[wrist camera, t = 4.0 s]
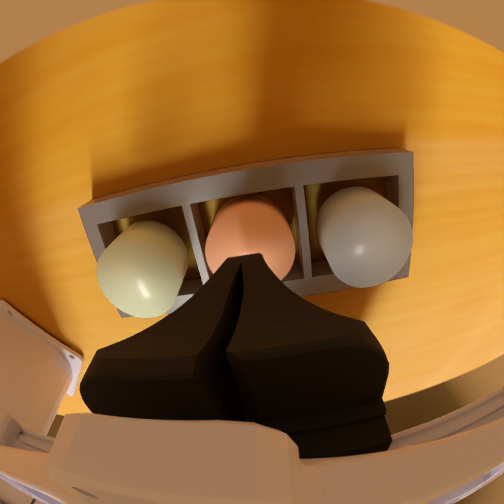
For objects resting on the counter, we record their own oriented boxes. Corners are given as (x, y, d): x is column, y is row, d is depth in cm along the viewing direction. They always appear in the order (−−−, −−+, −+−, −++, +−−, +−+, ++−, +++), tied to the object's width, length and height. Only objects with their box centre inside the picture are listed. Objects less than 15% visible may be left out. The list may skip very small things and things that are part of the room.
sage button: (131, 292, 16) (115, 320, 13) (107, 228, 14) (84, 249, 12) (197, 284, 15) (188, 314, 13) (177, 213, 14) (162, 234, 11)
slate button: (318, 266, 15) (329, 294, 12) (311, 190, 13) (324, 207, 11) (388, 254, 15) (408, 279, 12) (389, 182, 13) (414, 196, 10)
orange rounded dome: (221, 269, 16) (216, 296, 14) (204, 201, 15) (195, 218, 12) (292, 259, 16) (299, 284, 14) (283, 188, 14) (289, 203, 12)
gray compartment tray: (129, 302, 18) (121, 317, 16) (91, 199, 14) (77, 208, 13) (397, 263, 16) (408, 277, 15) (398, 147, 13) (412, 152, 12)
